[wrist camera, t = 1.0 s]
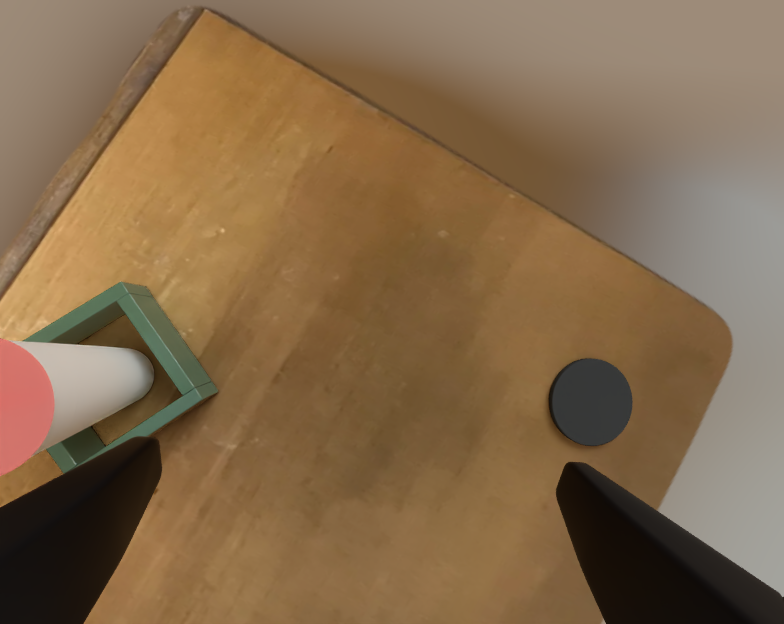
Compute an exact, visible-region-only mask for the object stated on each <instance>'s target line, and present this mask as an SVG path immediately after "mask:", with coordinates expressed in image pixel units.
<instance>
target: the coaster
mask: <svg viewBox="0 0 784 624" xmlns="http://www.w3.org/2000/svg"><path fill="white" fill-rule="evenodd" d="M549 406H550V412H551V415H552V418H553V420H554V422H555V424H556V426H557V427H558V429H559V430H560V431H561V432H562V433H563V434H564V435H565V436H566V437H568V438H569V439H571V440H573V441H574V442H577V443H579V444H582V445H587V446H597V445H602V444H605V443H608V442H610V441H612V440H613V439H614V438H616V437H617V436H618V435H619V434H620V433H621V432H622V431H623V430H624V428H625V427H626V425H627V423H628V421H629V418H630V415H631V411H632V394H631V390H630V387H629V384H628V382H627V380H626V378H625V377H624V375H623V374H622V373H621V372H620V371H619V370H618V369H617V368H616V367H615V366H613V365H612V364H610V363H608V362H605V361H603V360H599V359H581V360H577V361H575V362H572V363H571V364H569V365H567V366H566V367H565V368H564V369H562V371H561V372H560V373H559V374H558V375H557V377H556V378H555V380H554V382H553V385H552V387H551V391H550V398H549Z"/></svg>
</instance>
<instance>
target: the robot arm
mask: <svg viewBox="0 0 784 624" xmlns="http://www.w3.org/2000/svg"><path fill="white" fill-rule="evenodd" d="M161 473H162V463H161V454H160V444H159V441H158V439H157V438H155V437H145V436H136V437H133V438H131V439H129V440H127V441H125V442H123V443H121V444H119V445H117V446H115V447H114V448H112V449H110V450H108V451H106V452H104V453H102V454H100V455H98V456H97V457H95V458H93V459H91V460H89V461H87V462H85V463H83V464H81V465H80V466H78V467H76V468H74V469H72V470H70V471H68V472H66V473H65V474H63V475H61V476H59V477H57V478H55V479H53V480H51V481H49V482H48V483H46V484H44V485H42V486H40V487H38V488H36V489H34V490H32V491H31V492H29V493H27V494H25V495H23V496H21V497H19V498H17V499H15V500H14V501H12V502H10V503H8V504H6V505H4V506H2V507H0V624H83V623H84V622H85V620H86V618H87V617H88V615H89V613H90V612H91V610H92V608H93V607H94V605H95V603H96V602H97V600H98V598H99V597H100V595H101V593H102V591H103V590H104V588H105V586H106V585H107V583H108V581H109V580H110V578H111V576H112V575H113V573H114V571H115V570H116V568H117V566H118V564H119V563H120V561H121V559H122V557H123V555H124V553H125V551H126V549H127V547H128V545H129V543H130V541H131V539H132V537H133V535H134V533H135V531H136V529H137V526H138V524H139V522H140V520H141V518H142V516H143V514H144V512H145V510H146V508H147V505H148V503H149V501H150V499H151V497H152V495H153V493H154V491H155V489H156V487H157V484H158V482H159V480H160V477H161ZM556 497H557V501H558V504H559V507H560V510H561V513H562V515H563V518H564V521H565V524H566V527H567V530H568V533H569V535H570V538H571V541H572V544H573V547H574V550H575V552H576V555H577V558H578V561H579V563H580V566H581V568H582V571H583V573H584V576H585V578H586V580H587V583H588V585H589V587H590V589H591V592H592V594H593V596H594V598H595V600H596V603H597V605H598V607H599V609H600V611H601V614H602V616H603V618H604V620H605V622H606V624H784V597H782V596H781V595H780V593H778V592H777V591H776V590H774V589H773V588H771V587H769V586H768V585H766V584H765V583H764V582H762V581H761V580H759V579H757V578H756V577H755V576H753V575H752V574H750V573H749V572H747V571H746V570H744V569H743V568H741V567H740V566H738V565H737V564H735V563H734V562H732V561H731V560H729V559H728V558H726V557H725V556H723V555H722V554H720V553H719V552H717V551H716V550H714V549H713V548H712V547H710V546H708V545H707V544H706V543H704V542H702V541H701V540H700V539H698V538H697V537H695V536H694V535H692V534H691V533H689V532H688V531H686V530H685V529H683V528H682V527H680V526H679V525H677V524H676V523H674V522H673V521H671V520H670V519H668V518H667V517H665V516H664V515H662V514H661V513H659V512H658V511H656V510H655V509H653V508H652V507H650V506H649V505H648V504H646V503H645V502H643V501H642V500H640V499H639V498H637V497H636V496H634V495H633V494H631V493H630V492H628V491H627V490H625V489H624V488H622V487H621V486H619V485H618V484H616V483H615V482H613V481H612V480H610V479H609V478H607V477H606V476H604V475H603V474H601V473H600V472H598V471H597V470H595V469H594V468H592V467H591V466H589V465H588V464H586V463H581V462H568V463H567V464H566V465H565V466H564V469H563V472H562V474H561V477H560V480H559V482H558V485H557V488H556Z"/></svg>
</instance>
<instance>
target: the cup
mask: <svg viewBox="0 0 784 624" xmlns="http://www.w3.org/2000/svg"><path fill="white" fill-rule="evenodd" d="M153 381H154V369H153V366H152V363H151V362H150V360H149V359H148V358H147V357H146V356H145V355H144V354H143V353H141V352H140V351H137V350H135V349H130V348H117V347H106V346H90V345H74V344H58V343H42V342H24V341H8V340H4V339H1V338H0V476H1V475H4V474H6V473H8V472H10V471H12V470H14V469H16V468H17V467H19V466H20V465H22V464H23V463H24V462H26V461H27V460H28V459H29V458H30V457H32V456H34V455H36V454H38V453H40V452H41V451H43V450H45V449H47V448H49V447H51V446H53V445H55V444H57V443H59V442H61V441H63V440H64V439H66V438H68V437H70V436H72V435H74V434H76V433H78V432H80V431H82V430H83V429H85V428H87V427H89V426H91V425H93V424H95V423H97V422H99V421H101V420H102V419H104V418H106V417H108V416H110V415H112V414H114V413H116V412H118V411H119V410H121V409H123V408H125V407H126V406H128V405H130V404H132V403H134V402H136V401H138V400H139V399H141V398H142V397H144V396H145V395H146V394H147V393H148V391H149V390H150V388H151V386H152V384H153Z"/></svg>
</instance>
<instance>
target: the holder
mask: <svg viewBox="0 0 784 624" xmlns="http://www.w3.org/2000/svg"><path fill="white" fill-rule="evenodd" d="M124 314H126V315H127V317H128V318H129V320H130V321H131V322H132V324H133V325H134V327H135V328H136V330H137V331H138V332H139V334H140V335H141V337H142V338H143V340H144V341H145V342H146V344H147V345H148V347H149V348H150V350H151V351H152V353H153V354H154V355H155V357H156V358H157V360H158V361H159V363H160V364H161V365H162V367H163V368H164V370H165V371H166V373H167V374H168V375H169V377H170V378H171V380H172V381H173V383H174V384H175V385H176V387H177V388H178V390H179V391H180V393H181V394H182V395H183V396H182V397H180V398H179V399H177V400H176V401H174V402H173V403H171V404H170V405H168V406H167V407H165V408H163V409H162V410H160V411H159V412H157V413H156V414H154V415H153V416H151V417H150V418H148V419H147V420H145V421H144V422H142V423H141V424H139V425H138V426H136V427H135V428H133V429H132V430H130V431H129V432H127V433H126V434H124V435H122V436H121V437H119V438H118V439H116V440H115V441H113V442H112V443H110V444H109V445H107V446H106V447H105V445H104V444H103V443H102V441H101V440H100V438H99V437H98V436H97V434H96V433H95V431H94V430H93V429H92V427H91V426H89V427H87V428H85V429H83V430H82V431H80V432H78V433H76V434H74V435H72V436H70V437H68V438H66V439H64V440H63V441H61V442H59V443H57V444H55V445H53V446H51V447H49V448H47V449H46V450H47V451H48V453H49V454H50V455H51V457H52V458H53V460H54V461H55V462H56V464H57V465H58V466H59V468H60V469H61V471H62V472H63V473H66V472H68V471H70V470H72V469H74V468H76V467H78V466H80V465H81V464H83V463H85V462H87V461H89V460H91V459H93V458H95V457H97V456H98V455H100V454H102V453H104V452H106V451H108V450H110V449H112V448H114V447H115V446H117V445H119V444H121V443H123V442H125V441H127V440H129V439H131V438H133V437H136V436H145V437H151V436H153V435H154V434H156V433H157V432H159V431H160V430H162V429H163V428H165V427H166V426H168V425H169V424H171V423H173V422H174V421H176V420H177V419H179V418H180V417H182V416H183V415H185V414H186V413H188V412H189V411H191V410H192V409H194V408H195V407H197V406H198V405H200V404H201V403H203V402H204V401H206V400H207V399H209V398H210V397H212V396H213V395H215V394H216V393H218V390H217V388H216V387H215V385H214V384H213V382H211V379H210V378H209V376H208V375H207V374H206V372H205V371H204V369H203V368H202V366H201V365H200V364H199V362H198V361H197V359H196V358H195V356H194V355H193V353H192V352H191V351H190V349H189V348H188V346H187V345H186V343H185V342H184V341H183V339H182V338H181V336H180V335H179V333H178V332H177V330H176V329H175V328H174V326H173V325H172V323H171V322H170V320H169V319H168V318H167V316H166V315H165V313H164V312H163V310H162V309H161V307H160V306H159V305H158V303H157V302H156V300H155V299H154V297H153V296H152V295H151V293H150V292H149V290H148V289H147V287H146V286H141V285H136V284H131V283H125V282H119V283H118V284H116V285H114V286H113V287H111V288H109V289H108V290H106V291H104V292H103V293H101V294H99V295H98V296H96V297H94V298H93V299H91V300H90V301H88V302H86V303H85V304H83V305H81V306H80V307H78V308H76V309H75V310H73V311H71V312H70V313H68V314H66V315H65V316H63V317H61V318H60V319H58V320H56V321H55V322H53V323H51V324H50V325H48V326H46V327H45V328H43V329H42V330H40V331H38V332H37V333H35V334H33V335H32V336H30V337H28V338H27V339H25V340H23V341H24V342H42V343H58V344H74V345H75V344H77V343H79V342H80V341H82V340H84V339H85V338H87V337H88V336H90V335H92V334H93V333H95V332H97V331H98V330H100V329H101V328H103V327H105V326H106V325H108V324H110V323H111V322H113V321H114V320H116V319H118V318H119V317H121V316H123V315H124Z"/></svg>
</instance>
